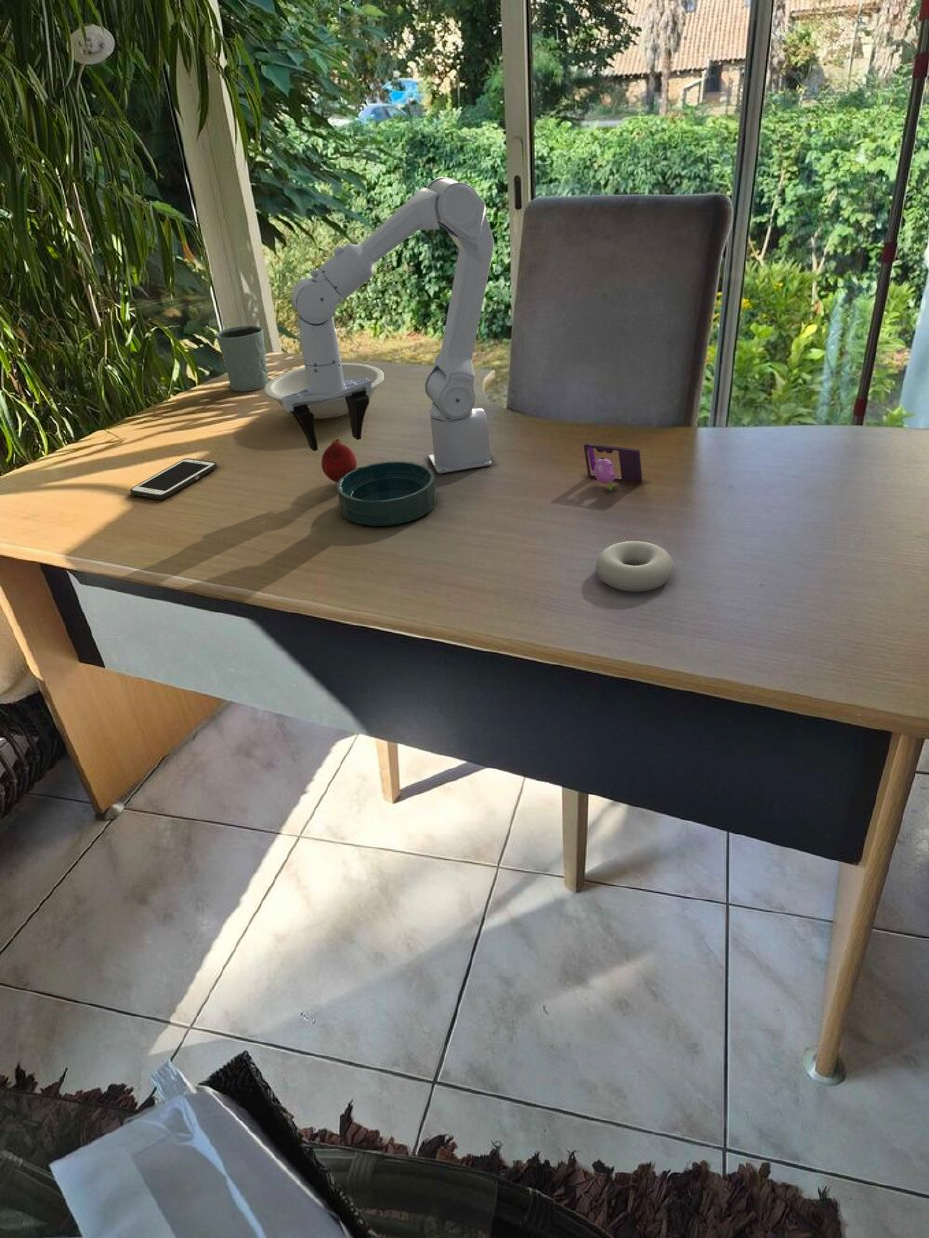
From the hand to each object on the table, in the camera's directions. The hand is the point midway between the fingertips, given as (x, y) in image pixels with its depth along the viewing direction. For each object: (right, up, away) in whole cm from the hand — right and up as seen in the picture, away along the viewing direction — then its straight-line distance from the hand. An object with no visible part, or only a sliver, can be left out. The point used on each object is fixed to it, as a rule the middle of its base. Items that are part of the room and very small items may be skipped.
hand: (335, 443), depth 143 cm
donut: (+44, -24, -28) cm, 57 cm away
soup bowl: (-6, +13, +35) cm, 38 cm away
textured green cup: (-27, +24, +55) cm, 66 cm away
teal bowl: (+9, -11, -5) cm, 15 cm away
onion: (+1, -6, +4) cm, 7 cm away
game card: (+45, -8, -4) cm, 45 cm away
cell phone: (-30, -5, +10) cm, 32 cm away
